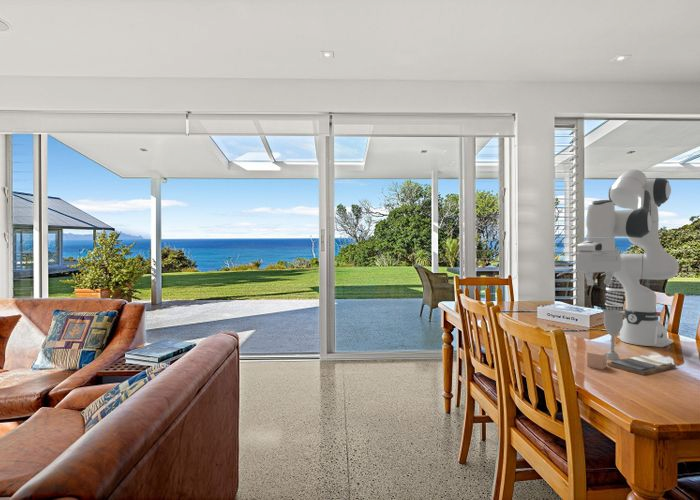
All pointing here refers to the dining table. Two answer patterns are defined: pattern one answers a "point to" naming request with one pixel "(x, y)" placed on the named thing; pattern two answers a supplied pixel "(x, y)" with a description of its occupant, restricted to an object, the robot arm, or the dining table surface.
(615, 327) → the chalice
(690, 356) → the dining table surface
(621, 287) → the decorative candle
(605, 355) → the terracotta cube
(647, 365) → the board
